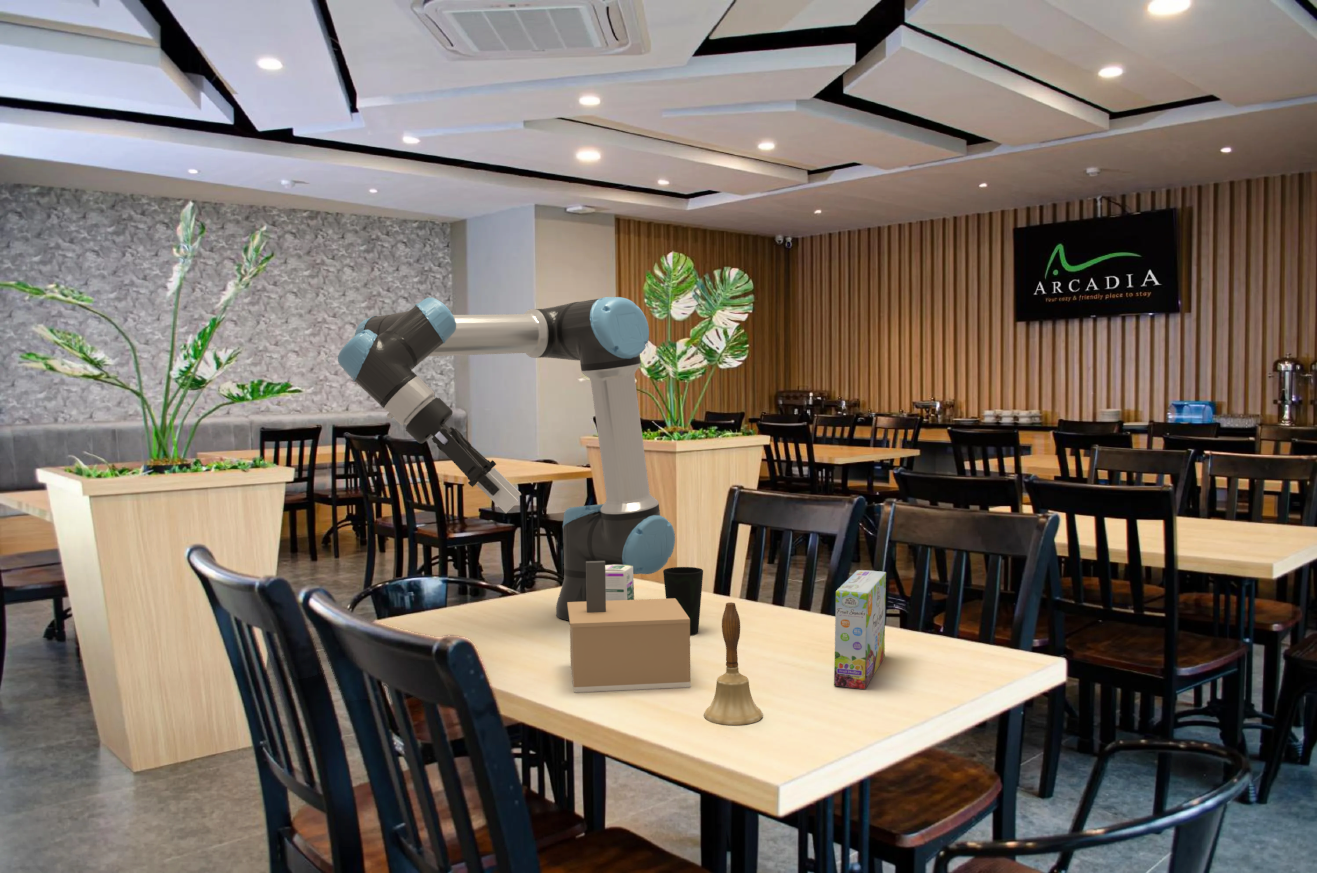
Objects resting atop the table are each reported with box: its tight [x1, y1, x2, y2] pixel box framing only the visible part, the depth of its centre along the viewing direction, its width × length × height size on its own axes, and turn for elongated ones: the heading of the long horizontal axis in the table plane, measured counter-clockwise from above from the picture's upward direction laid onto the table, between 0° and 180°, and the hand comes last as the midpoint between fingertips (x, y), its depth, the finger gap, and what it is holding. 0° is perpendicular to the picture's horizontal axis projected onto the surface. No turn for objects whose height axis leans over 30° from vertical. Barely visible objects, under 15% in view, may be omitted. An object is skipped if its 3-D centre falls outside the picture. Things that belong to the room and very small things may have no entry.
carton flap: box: [567, 561, 690, 629], centre depth 158 cm, size 18×16×9 cm
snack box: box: [833, 569, 887, 690], centre depth 160 cm, size 21×6×15 cm, turn 160°
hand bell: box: [703, 602, 764, 726], centre depth 138 cm, size 8×8×16 cm
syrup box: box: [605, 564, 635, 601], centre depth 178 cm, size 6×6×14 cm
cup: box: [663, 566, 704, 636], centre depth 188 cm, size 8×8×12 cm
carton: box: [569, 623, 692, 693], centre depth 159 cm, size 18×16×10 cm
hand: (514, 503), depth 161 cm, fingers open, 13 cm apart
